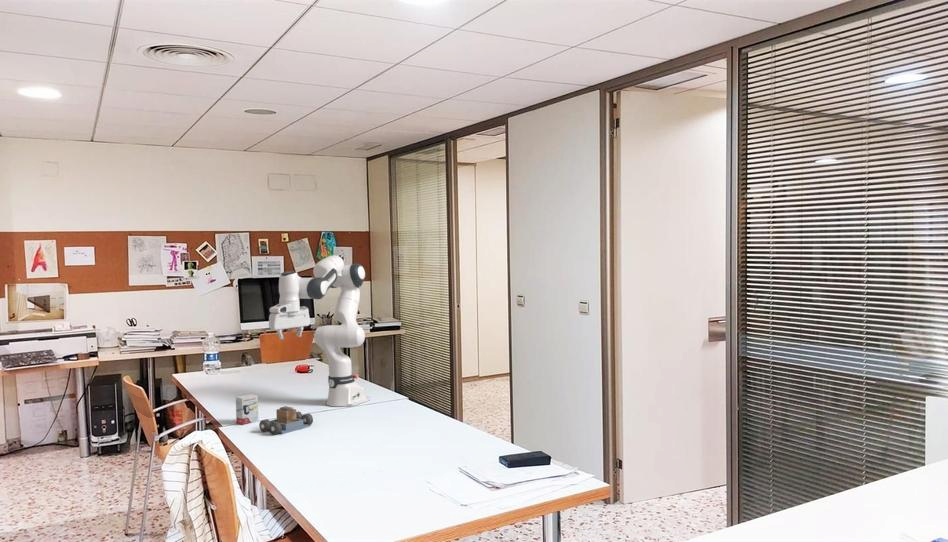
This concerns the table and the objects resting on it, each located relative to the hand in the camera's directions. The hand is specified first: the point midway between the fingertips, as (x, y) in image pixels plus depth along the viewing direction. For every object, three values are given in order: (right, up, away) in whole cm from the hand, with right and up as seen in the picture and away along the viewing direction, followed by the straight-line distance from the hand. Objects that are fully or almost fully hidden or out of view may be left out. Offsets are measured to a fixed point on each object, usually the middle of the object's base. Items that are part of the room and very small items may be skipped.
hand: (290, 338), depth 305 cm
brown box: (+2, -36, -14) cm, 39 cm away
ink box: (-19, -38, -1) cm, 42 cm away
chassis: (+2, -38, -14) cm, 40 cm away
